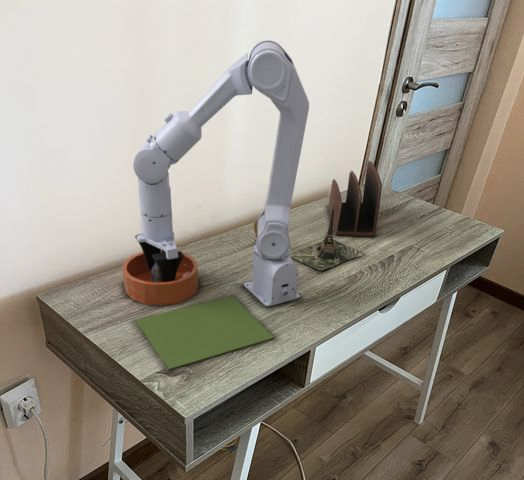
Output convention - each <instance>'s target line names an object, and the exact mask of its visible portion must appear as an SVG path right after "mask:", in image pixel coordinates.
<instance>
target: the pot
mask: <svg viewBox="0 0 524 480" xmlns="http://www.w3.org/2000/svg"><path fill="white" fill-rule="evenodd" d="M161 251H162V250H161ZM181 252H182V251H181ZM182 253H183V255H184V258H183V260H182V261H181V263H180V265H179V267H178V270H177V273H176V278H175V280H174V281H170V282H158V283H156V282H152V275H151V271H152V269H149V268H148V265H147V262H146V259H145V256H144V253H143V251H142V252H139V253H136V254H134V255H132V256H131V257H129V258H128V259H126V260H125V261H124V263H123V265H122V276H123V284H124V290H125V293H126V294H127V296H128V297H129V298H131V299H132V300H133V301H136V302H138V303H140V304H145V305H151V306H168V305H169V306H170V305H174V304H179V303H182V302H184V301H186V300H189V299H190V298H191V297H193V296H194V295H195V294H196V293H197V291H198V288H199V266H198V265H199V264H198V261H197V260H196V259H195V258H194V257H193V256H192V255H189V254H188V253H185V252H182Z"/></svg>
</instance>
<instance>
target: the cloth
mask: <svg viewBox="0 0 524 480" xmlns="http://www.w3.org/2000/svg"><path fill="white" fill-rule="evenodd" d="M135 323H136V324H137V325H138V326H139V328H140V329H141V331H142V332H143V334H144V335H145V337H146V338H147V340H148V341H149V343H150V344H151V346H152V347H153V349H154V350H155V351H156V353H157V355H158V356H159V358H161V361H162V362H163V364H164V365H165V366H166V368H167V370H168V371H171V370H174V369H178V368H182V367H184V366H187V365H191V364H195V363H198V362H201V361H205V360H207V359H210V358H211V359H212V358H214V357H218V356H221V355H224V354H228V353H231V352H234V351H237V350H241V349H244V348H248V347H251V346H254V345H257V344H261V343H265V342H267V341H271V340H274V338H275V337H274V335H272V334H271V333H270V332H269V331H268V330H267V329H266V328H265V327H264V326H263V324H261V323H260V322H259V320H257V319H256V318H255V317H254V316H253V315H252V314H251V313H250V311H248V310H247V309H246V308H245V307H244V306H243V304H241V303H240V301H238V300H237V298H236V297H235V296H233V295H231V296H227V297H223V298H218V299H215V300H211V301H206V302H203V303H197V304H194V305H189V306H187V307H183V308H179V309H175V310H171V311H165V312H163V313H158V314H155V315H151V316H148V317H141V318H139V319H136V320H135Z"/></svg>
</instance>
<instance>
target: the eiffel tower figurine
mask: <svg viewBox="0 0 524 480" xmlns="http://www.w3.org/2000/svg"><path fill="white" fill-rule="evenodd" d="M334 209H335V206H334V205H333V206H332V213H330V218H329V224H328V229H327V231H326V232H325V233H326V234H325V236H324V239H323V240H322V239H321V241H320V242H318V243H316V244H312V245H310V246H307V247H305V248H302V249H299V250H297V251H295V252H293V253H290V254H291V259H294V260H296V261H299V262H300V263H302V264H304V265H307V266H308V267H311V268H313V269H315V270H318V271H324V270H326V269H329V268H333V267H335V266H337V265H339V264H342V263H343V262H346V261H348V260H349V261H350V260H352V259H355V258H358V257H361V256H364V254H363V253H361V252H358V251H356V250H355V249H353V248H351V247H349V246H347V245H345V244H343V243H341V242H339V241H338V240H336V239H334V236H335V235H334V226H333V218H334Z"/></svg>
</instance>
